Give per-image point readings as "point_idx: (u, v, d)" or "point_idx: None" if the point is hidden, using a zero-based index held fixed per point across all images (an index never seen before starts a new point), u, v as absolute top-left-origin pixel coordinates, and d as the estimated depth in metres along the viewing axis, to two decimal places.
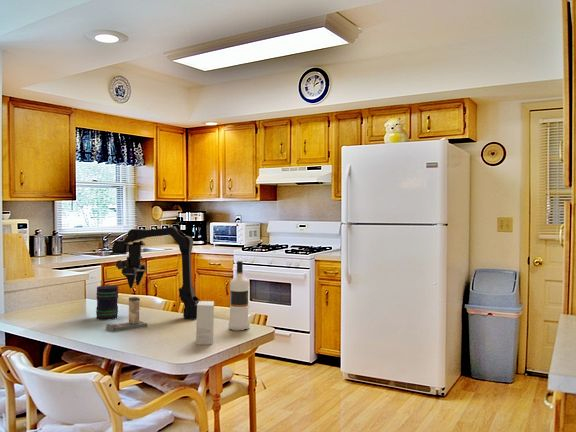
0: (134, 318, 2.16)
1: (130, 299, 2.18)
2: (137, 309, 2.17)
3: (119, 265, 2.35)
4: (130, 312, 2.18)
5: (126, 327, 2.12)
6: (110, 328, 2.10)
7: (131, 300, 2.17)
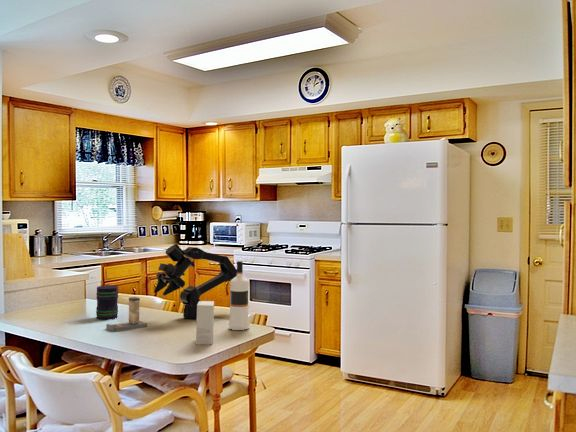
0: (134, 318, 2.16)
1: (130, 299, 2.18)
2: (137, 309, 2.17)
3: (169, 268, 2.26)
4: (130, 312, 2.18)
5: (126, 327, 2.12)
6: (110, 328, 2.10)
7: (131, 300, 2.17)
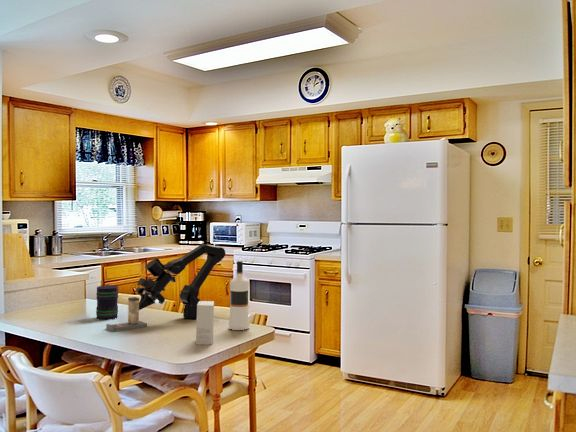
0: (133, 318, 2.16)
1: (129, 299, 2.17)
2: (136, 309, 2.17)
3: (149, 284, 2.19)
4: (129, 312, 2.17)
5: (126, 327, 2.12)
6: (110, 328, 2.10)
7: (130, 300, 2.17)
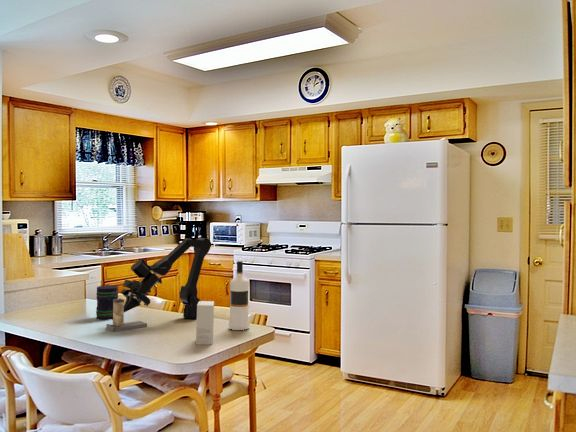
0: (118, 320, 2.11)
1: (114, 301, 2.13)
2: (121, 311, 2.12)
3: (134, 285, 2.14)
4: (114, 314, 2.13)
5: (126, 327, 2.12)
6: (110, 328, 2.10)
7: (115, 302, 2.12)
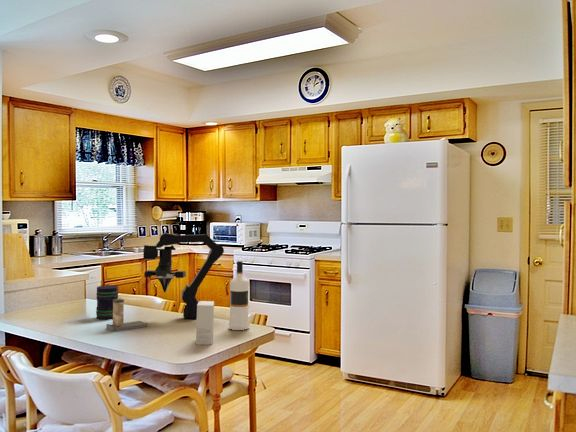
0: (118, 320, 2.11)
1: (114, 301, 2.13)
2: (121, 311, 2.12)
3: (170, 271, 2.29)
4: (114, 314, 2.13)
5: (126, 327, 2.12)
6: (110, 328, 2.10)
7: (115, 302, 2.12)
